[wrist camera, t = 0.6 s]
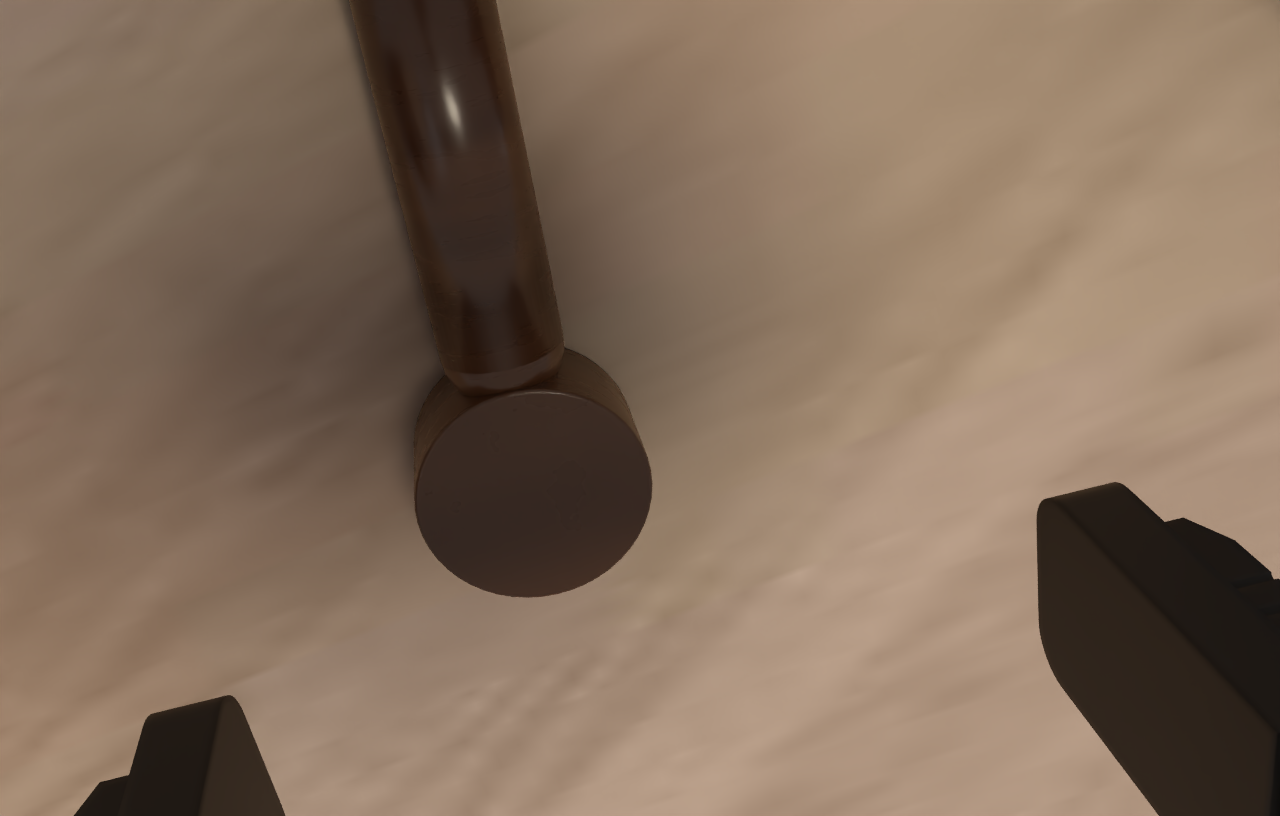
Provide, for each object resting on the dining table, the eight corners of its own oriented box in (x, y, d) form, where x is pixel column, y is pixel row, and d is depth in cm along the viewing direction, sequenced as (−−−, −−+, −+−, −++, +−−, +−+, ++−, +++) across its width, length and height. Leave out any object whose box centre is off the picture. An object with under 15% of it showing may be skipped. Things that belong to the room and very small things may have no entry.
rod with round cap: (239, -175, 22) (219, -175, 20) (515, -223, 22) (527, -229, 20) (441, 557, 29) (444, 621, 27) (647, 511, 29) (668, 569, 27)
